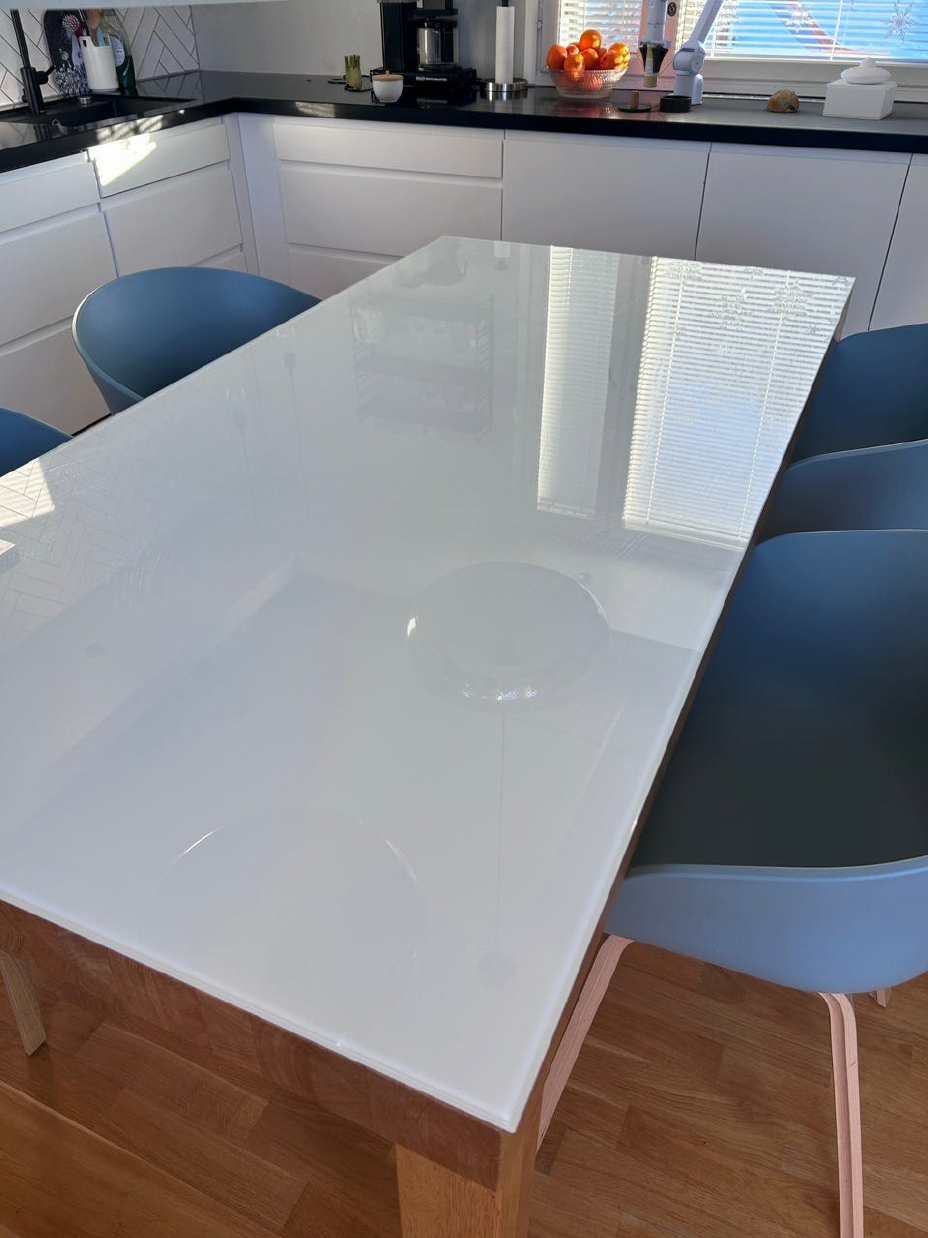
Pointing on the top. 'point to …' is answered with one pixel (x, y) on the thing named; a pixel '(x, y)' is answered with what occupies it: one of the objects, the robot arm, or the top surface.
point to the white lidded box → (861, 93)
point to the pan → (675, 104)
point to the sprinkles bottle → (650, 68)
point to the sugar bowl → (388, 87)
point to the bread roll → (783, 102)
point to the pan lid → (634, 104)
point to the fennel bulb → (353, 72)
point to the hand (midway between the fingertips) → (651, 71)
